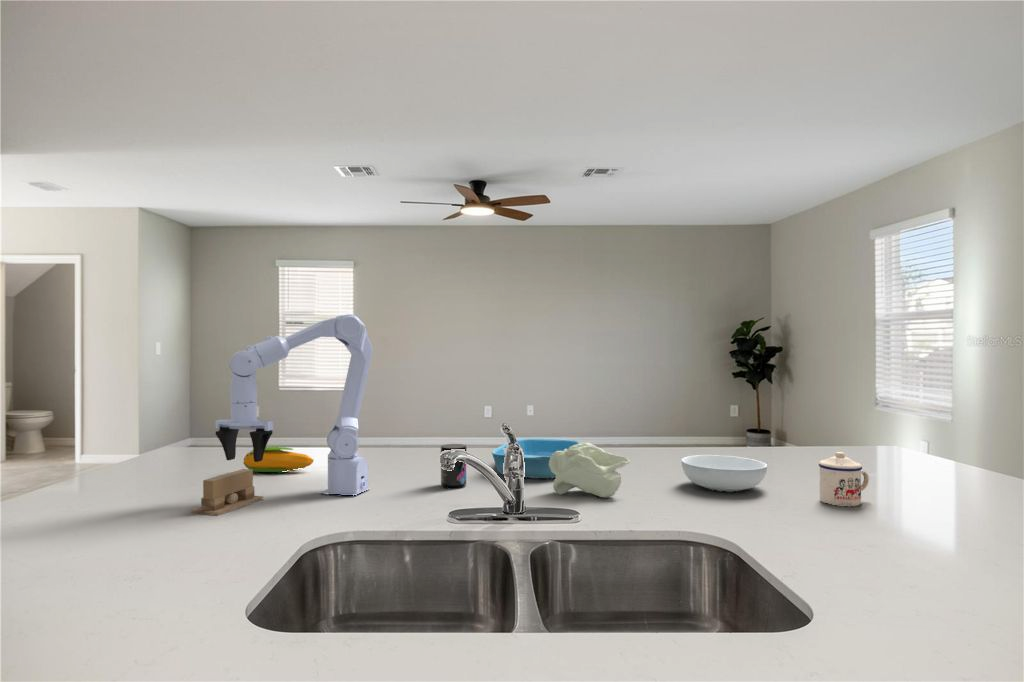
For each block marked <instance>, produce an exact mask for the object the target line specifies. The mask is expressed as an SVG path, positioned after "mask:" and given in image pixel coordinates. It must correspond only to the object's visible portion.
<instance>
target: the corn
mask: <svg viewBox="0 0 1024 682" xmlns="http://www.w3.org/2000/svg"><path fill="white" fill-rule="evenodd" d="M287 450H289V451H287ZM293 450H294V448H291V447H285V446H284V447H283V446H266V448H265V451H264V455H263V459H262V461H259V462H254V456H253V449H252V450H250V451H249V452H248V453H246V455H245V456H244V458H243V465H244V466H245V468H246V469H253V471H254V472H253V473H258V472H282V471H287V470H293V469H298V468H303V469H305V468H306V467H309V466H311V465H312V464H313V462H314V458H312V457H310V456H309V455H307V454H306V453H305V454H304V453H299V452H294V451H293Z"/></svg>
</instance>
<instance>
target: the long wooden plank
mask: <svg viewBox="0 0 1024 682" xmlns="http://www.w3.org/2000/svg"><path fill="white" fill-rule="evenodd" d="M253 475H254V472H253V469H248V468H242V469H237V470H234V471H232V472H231V471H230V472H228V473H227V472H226V473H224V474H221V475H217V476H214V477H210V478H207V479H203V481H202V482H203V483H202V487H203V488H202V490H203V491H202V493H203V494H202V498H204V499H216V498H219V497H222V496H225V495H228V494H231V493H234V492H237V491H240V490H243V489H246V488H249V487H252V486H254V482H253V481H254V480H253V479H254V478H253Z"/></svg>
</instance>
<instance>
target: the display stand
mask: <svg viewBox="0 0 1024 682" xmlns="http://www.w3.org/2000/svg"><path fill="white" fill-rule="evenodd" d="M262 498H263V499H264V496H263V495H260V496H259V495H255V486H254V485H253V486H252V487H249V488H246V489H243V490H240V491H237V492H234V493H231V494H228V495H225V496H222V497H219V498H216V499H204V498H203V497H201V498H200V499H201V500H200V503H201V504H200V507H197V508H194V509H192V510H191V514H199V515H200V514H201V515H211V516H220V515H222V514H225V512H226V513H229V512H231V511H234V510H236V509H235V508H237V509H239V508H238V507H240V508H242V507H245V506H247V505H246V504H248V505H250V504H249V503H251V502H253V503H255V502H254V501H256V502H258V501H257V500H259V499H262ZM263 499H262V500H263ZM259 501H260V500H259ZM251 504H252V503H251ZM244 505H245V506H244ZM241 506H242V507H241ZM233 509H234V510H233ZM230 510H231V511H230ZM228 511H229V512H228Z"/></svg>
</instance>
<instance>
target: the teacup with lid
mask: <svg viewBox="0 0 1024 682" xmlns="http://www.w3.org/2000/svg"><path fill="white" fill-rule="evenodd" d="M818 466H819V500H820V502H822V503H824V504H826V503H828V504H827V505H830V504H832V505H831V506H835V505H837V506H836V507H844V506H848V508H851V506H853V507H857V506H860V505H861V504H862V491H864V490H866V489H867V487H868V485H869V481H870V477H869V476H870V475H869V473H868V472H867V471H865V470H863V467H862V464H861V463H859V462H857V461H854V460H852V459H851V458H849V457H847V456H846V453H845V452H843V451H837V452H835V455H833V456H831V457H828V458H827V459H822V460H820V461H819V462H818ZM862 476H863V482H862Z"/></svg>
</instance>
